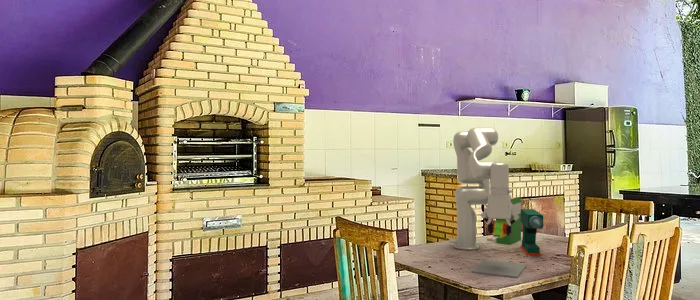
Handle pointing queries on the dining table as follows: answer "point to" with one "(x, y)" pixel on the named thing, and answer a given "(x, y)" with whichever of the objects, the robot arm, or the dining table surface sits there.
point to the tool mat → (499, 268)
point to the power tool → (531, 231)
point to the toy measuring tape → (498, 230)
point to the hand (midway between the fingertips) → (499, 233)
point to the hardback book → (513, 225)
